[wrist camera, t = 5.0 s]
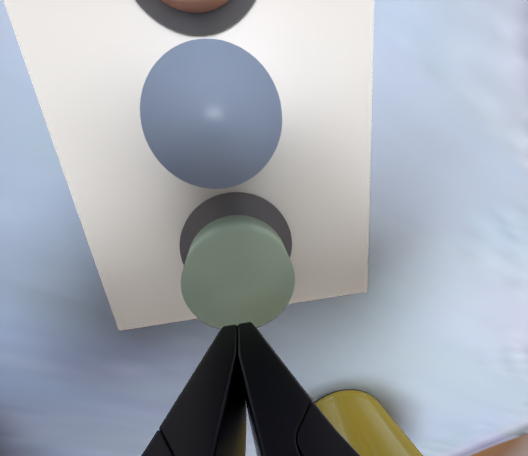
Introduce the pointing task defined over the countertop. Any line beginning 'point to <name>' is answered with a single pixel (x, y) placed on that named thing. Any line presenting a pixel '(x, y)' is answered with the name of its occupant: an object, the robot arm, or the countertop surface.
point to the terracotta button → (195, 5)
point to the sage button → (237, 273)
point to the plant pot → (365, 424)
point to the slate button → (211, 113)
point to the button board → (182, 193)
